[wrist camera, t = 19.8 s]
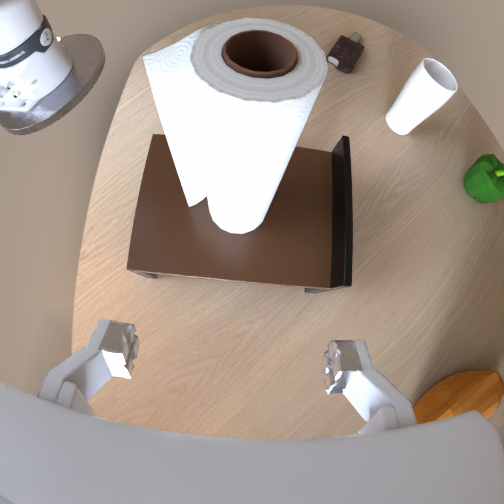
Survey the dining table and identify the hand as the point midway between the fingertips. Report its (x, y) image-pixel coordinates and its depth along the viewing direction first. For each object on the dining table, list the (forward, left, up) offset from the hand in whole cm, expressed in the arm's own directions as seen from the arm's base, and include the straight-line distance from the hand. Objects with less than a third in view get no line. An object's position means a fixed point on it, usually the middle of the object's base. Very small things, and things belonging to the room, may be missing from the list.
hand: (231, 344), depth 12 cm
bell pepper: (+43, +25, -26) cm, 56 cm away
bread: (+36, -15, -26) cm, 47 cm away
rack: (0, +12, -26) cm, 29 cm away
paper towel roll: (-1, +12, -18) cm, 22 cm away
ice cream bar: (+18, +51, -26) cm, 60 cm away
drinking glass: (+26, +34, -26) cm, 50 cm away
